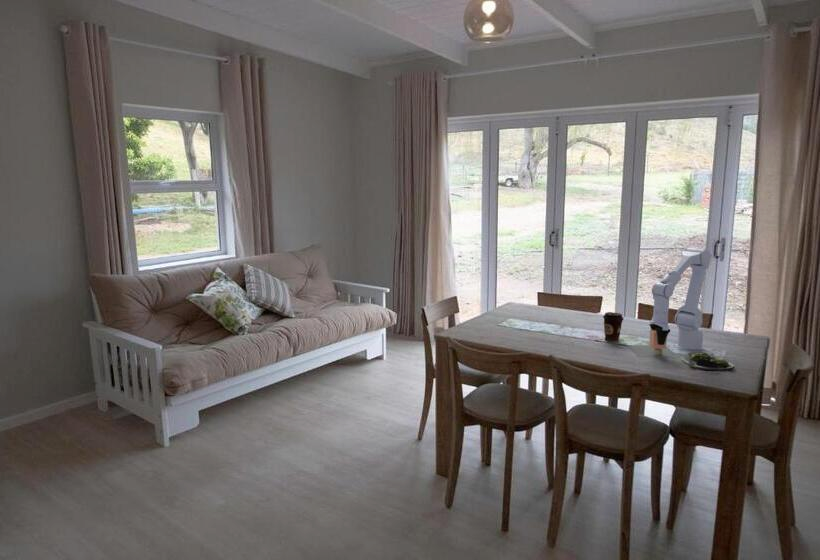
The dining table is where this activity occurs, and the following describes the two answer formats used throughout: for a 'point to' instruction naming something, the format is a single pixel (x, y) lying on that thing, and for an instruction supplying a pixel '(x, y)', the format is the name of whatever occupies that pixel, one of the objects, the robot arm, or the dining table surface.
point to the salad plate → (707, 362)
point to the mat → (651, 351)
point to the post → (658, 351)
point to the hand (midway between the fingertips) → (658, 342)
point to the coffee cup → (612, 326)
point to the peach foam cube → (655, 340)
